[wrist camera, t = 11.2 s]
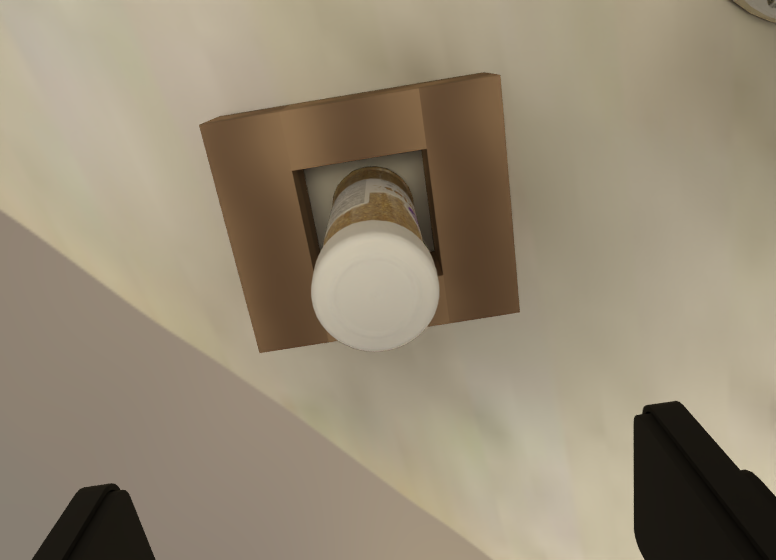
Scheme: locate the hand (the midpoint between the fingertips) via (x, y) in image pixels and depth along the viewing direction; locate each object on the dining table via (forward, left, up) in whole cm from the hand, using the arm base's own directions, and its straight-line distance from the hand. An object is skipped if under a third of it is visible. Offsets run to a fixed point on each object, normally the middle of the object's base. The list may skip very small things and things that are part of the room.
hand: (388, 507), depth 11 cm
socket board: (0, 0, -24) cm, 24 cm away
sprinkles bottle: (0, 0, -24) cm, 24 cm away
